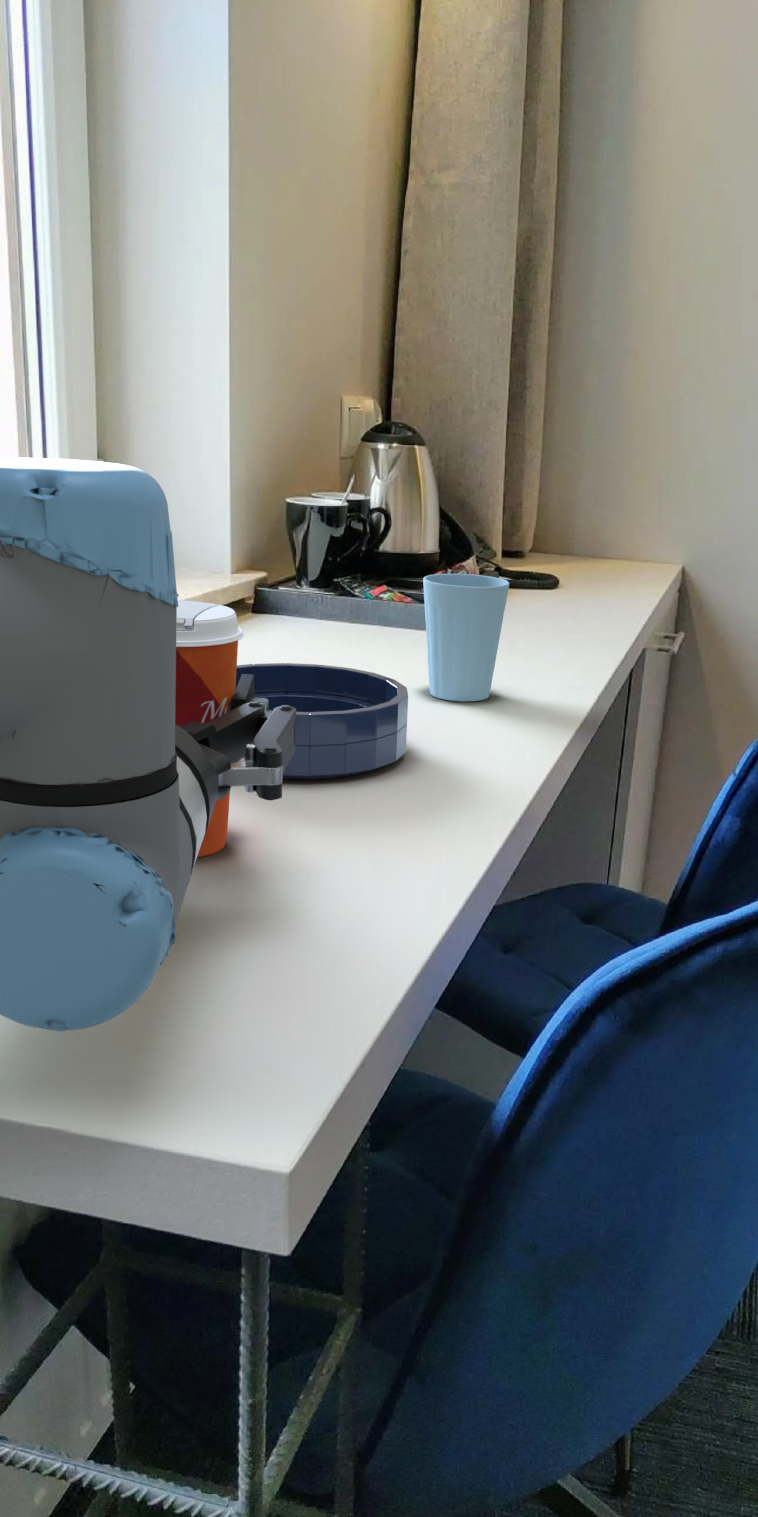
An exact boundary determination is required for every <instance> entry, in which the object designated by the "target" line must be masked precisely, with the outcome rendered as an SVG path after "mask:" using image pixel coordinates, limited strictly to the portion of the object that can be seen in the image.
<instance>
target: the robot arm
mask: <svg viewBox="0 0 758 1517" xmlns="http://www.w3.org/2000/svg"><path fill="white" fill-rule="evenodd" d="M177 591H178V590H177V579H176V566H175V554H174V542H173V532H172V530H171V522H170V514H169V505H168V500H167V497H166V494H165V491H164V490H163V488H162V487H161V485H160V483H159V482H158V481H157V480H156V478H154V476H152V475H151V474H149V473H147V472H146V471H144V470H142V469H140V468H138V467H135V466H132V465H128V464H122V463H117V462H116V463H115V462H107V461H99V460H87V459H71V458H52V457H51V458H50V457H49V458H47V457H45V458H44V457H0V1016H2V1017H4V1018H6V1019H8V1020H11V1021H13V1022H15V1023H16V1024H19V1025H23V1026H27V1027H29V1028H36V1029H43V1030H49V1031H50V1030H51V1031H56V1032H65V1031H77V1030H83V1029H87V1028H91V1027H94V1026H99V1025H100V1024H104V1023H105V1022H108V1021H111V1020H112V1019H114V1018H116V1017H118V1016H119V1015H122V1014H123V1013H124V1012H125V1011H127V1010H128V1009H129V1008H130V1007H132V1005H133V1004H135V1003H136V1002H137V1001H138V1000H140V998H141V997H142V996H143V994H144V993H145V992H146V990H147V989H148V988H149V987H150V985H151V984H152V981H153V979H154V977H155V975H156V973H157V971H158V969H159V967H160V966H162V965H163V963H164V960H165V959H166V958H167V957H168V956H169V954H170V950H171V946H172V945H174V944H175V941H176V936H177V929H176V928H177V927H176V925H177V921H178V918H179V915H180V912H181V909H182V906H183V902H184V899H185V896H186V894H187V893H186V892H187V890H188V886H189V884H190V880H191V877H192V873H193V870H194V868H195V865H196V861H197V858H198V857H197V856H198V853H199V850H200V847H201V844H202V841H203V839H204V837H205V834H206V831H207V828H208V825H209V822H210V819H211V816H212V813H213V810H214V807H215V803H216V801H217V800H219V799H222V798H224V797H225V796H226V795H227V794H228V793H229V792H230V793H231V790H232V787H244V790H245V792H247V793H256V795H257V797H258V798H260V799H262V800H264V801H275V800H279V799H281V798H282V797H283V779H282V774H283V772H284V771H285V769H286V767H287V765H288V763H289V762H290V760H291V758H292V756H293V755H294V753H295V751H296V708H294V707H293V706H289V705H282V706H280V707H276V708H275V709H274V710H273V712H272V713H271V712H269V700H268V699H267V698H254V675H252V674H242V675H241V678H240V680H239V683H238V686H237V688H236V691H235V694H234V696H233V698H232V710H231V711H229V712H227V713H225V714H223V715H221V716H219V717H217V718H216V719H214V720H212V721H210V722H208V723H199V722H189V723H187V724H185V725H183V726H181V727H179V726H178V725H176V724H175V696H176V618H177V607H179V606H178V601H179V598H178V597H179V594H178V592H177Z"/></svg>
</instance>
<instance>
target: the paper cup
mask: <svg viewBox="0 0 758 1517" xmlns="http://www.w3.org/2000/svg"><path fill="white" fill-rule="evenodd" d="M178 606H179V607H177V618H176V696H175V724H176V725H178V726H179V727H181V726H183V725H185V724H187V723H189V722H199V723H208V722H210V721H212V720H214V719H216V718H217V717H219V716H221V715H223V714H225V713H227V712H229V711H231V710H232V698H233V696H234V694H235V689H236V671H237V665H238V653H239V652H238V650H239V648H238V647H239V641H240V640H242V639H243V638H244V635H245V633H244V631H243V629H242V628H241V627H240V626H239V623H238V616H237V613H236V611H235V610H234V609H233V608H231V607H229V606H226V605H222V604H218V603H217V604H216V603H211V602H202V601H194V600H193V601H192V600H178ZM230 795H231V791H230V792H229V793H228V794H227V795H226V796H225V797H224V798H222V799H219V800H217V801H216V803H215V807H214V810H213V813H212V816H211V819H210V822H209V825H208V828H207V831H206V834H205V837H204V839H203V841H202V844H201V847H200V850H199V853H198V856H197V858H201V857H206V856H209V855H212V854H215V853H217V852H220V851H221V850H223V848H225V846H226V843H227V836H228V828H229V827H228V826H229V814H230V813H229V812H230V798H231V796H230Z"/></svg>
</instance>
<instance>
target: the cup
mask: <svg viewBox="0 0 758 1517" xmlns="http://www.w3.org/2000/svg"><path fill="white" fill-rule="evenodd" d="M422 584H423V586H422V587H423V600H424V614H425V615H424V619H425V631H426V632H425V634H426V654H427V669H428V686H429V694H430V695H431V696H433V697H435V698H438V699H441V700H445V701H450V702H478V701H483V700H487V699H489V696H490V694H491V688H492V683H493V677H494V672H495V666H496V661H497V655H498V649H499V643H500V638H501V634H502V627H503V621H504V616H505V609H506V606H507V600H508V594H509V590H510V589H509V588H510V582H509V581H508V580H506V579H503V578H500V577H495V576H488V575H481V574H472V573H471V574H470V573H436V574H435V573H434V574H429V575H426V576H424V577H423V578H422Z"/></svg>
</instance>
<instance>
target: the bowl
mask: <svg viewBox="0 0 758 1517" xmlns="http://www.w3.org/2000/svg"><path fill="white" fill-rule="evenodd" d="M242 674H252V675H254V698H267V699H268V700H269V712H271V713H272V712H273V710H274V709H275V708H276V707H280V706H282V705H289V706H293V707H294V708H296V751H295V753H294V755H293V756H292V758H291V760H290V762H289V763H288V765H287V767H286V769H285V771H284V772H283V774H282V780H283V779H284V780H321V779H334V778H343V777H350V776H354V775H359V774H363V773H367V772H371V771H373V770H376V769H379V768H382V767H384V766H386V765H389V764H392V763H395V762H397V761H398V760H399V759H401V757H402V756H403V755H404V754H406V752H407V733H408V709H409V708H408V707H409V692H408V687H407V686H405V685H403V683H401V682H399V681H397V679H393V678H391V677H389V676H388V677H387V676H384V675H382V674H379V673H376V672H373V671H367V670H362V669H356V668H351V667H345V666H344V667H343V666H335V665H327V664H317V663H292V662H276V663H248V664H247V663H246V664H237V671H236V688H237V686H238V683H239V680H240V678H241V675H242ZM235 691H236V689H235Z"/></svg>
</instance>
